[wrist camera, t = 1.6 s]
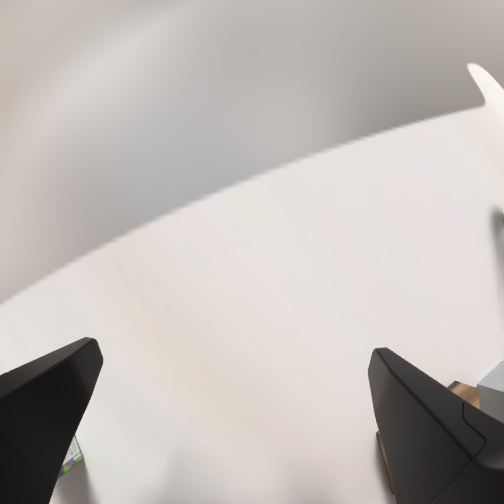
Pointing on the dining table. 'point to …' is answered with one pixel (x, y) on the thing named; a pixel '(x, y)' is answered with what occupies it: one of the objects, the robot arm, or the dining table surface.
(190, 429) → the dining table surface
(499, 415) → the plug
